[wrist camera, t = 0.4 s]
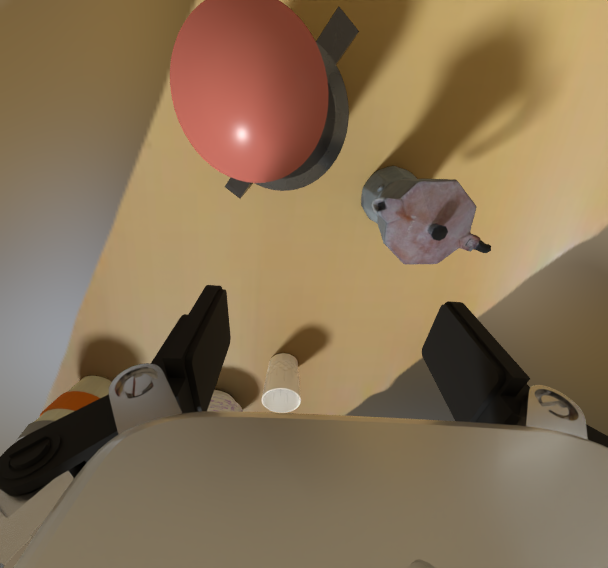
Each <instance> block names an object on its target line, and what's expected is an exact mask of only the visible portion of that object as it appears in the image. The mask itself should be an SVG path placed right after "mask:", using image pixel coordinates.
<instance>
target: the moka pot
mask: <svg viewBox="0 0 608 568" xmlns="http://www.w3.org/2000/svg"><path fill="white" fill-rule="evenodd" d="M361 205H362V207H363V209H364V211H365V213H366V214H367V216H368V217H369V219H371V220H372V221H374V222H376V223H378V226H379V229H380V232H381V236H382V239H383V243H384V244H385V245H386V246H387V247H388V248H389V249H390V250H391V251H392V252H393V253H394V254H395V255H396V256H397V257H398V258H399V260H400V261H401V262H402V263H403V264H437V263H439V262H440V261H442V260H443V259H444V258H446V257H447V256H449V255H450V254H451V253H452V252H454V251H455V250H457V249H458V248H461V249H464V250H467V251H472V250H473V249H475V250H478V251H480V252H483V253H488V252H489V251H491V246H490V245H489V244H485V243H484V242H482V241H481V240H480V238H479V237H478V236H476V235H473V234H471V233H470V230H471V225H472V222H473V218H474V215H475V211H476V205H475V204H474V202H473V201H472V200H471V198H470V197H469V196H468V195H467V193H466V192H465V191H464V189H463V188H462V186H461V185H460V184H459V182H458V181H457V180H448V179H417V178H416V177H415V176H414V175H413V174H412V173H411V172H409V171H407V170H405V169H402V168H399V167H396V166H391V167H386V168H383V169H380V170H378V171H376V172H375V173H374V174H373V175H372V176H371V177H370V178H369V179H368V181H367V182H366V184H365V185H364V187H363V190H362V199H361Z"/></svg>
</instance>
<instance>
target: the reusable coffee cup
mask: <svg viewBox="0 0 608 568" xmlns="http://www.w3.org/2000/svg"><path fill="white" fill-rule="evenodd" d="M111 383H112V382H111V381H110V380H108V379H106V378H103V377H99V376H86V377H84V378H82V379H81V380H80V381H79V382H78V383H77V384H76V385H74V386H73V387H72V388H71V389H70V390H69V391H68V392H66V393H63V394H62V395H61V396H59V397H58V398H57V399H56V400H55V401H54V402H53V403H52V404H50V405H49V406H48V407H47V408H46V409H45V410H44V411H43V412H42V413H41V414H40V417H39V418H38V419H37V420H36V421H35V422H33V423H31V424H29V425H28V426H27V427H26V429H25V430H24V431H23V432H22V434H21V435H20V436H19V438H18V439H17V440H16V442H17V441H18V440H20V439H21V438H23V437H25V436H26V435H28V434H30V433H32V432H34V431H36V430H38V429H40V428H42V427H44V426H46V425H48V424H50V423H52V422H54V421H56V420H58V419H60V418H62V417H64V416H66V415H68V414H70V413H72V412H74V411H76V410H78V409H80V408H82V407H84V406H86V405H88V404H90V403H92V402H94V401H96V400H98V399H100V398H102V397H104V396H106V395H108V394H109V387H110V385H111ZM16 442H15V443H16Z"/></svg>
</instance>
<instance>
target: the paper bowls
mask: <svg viewBox="0 0 608 568" xmlns="http://www.w3.org/2000/svg"><path fill="white" fill-rule="evenodd" d="M207 411H237V412H243V411H242V408H241V406H240V405H239V404H238V403H237V402H236V401H235V400H234V399H233V398H232V397H231V396H230V395H229V394H227V393H225V392H223V391H218V390H214V392H213V395H212V398H211V401H210V404H209V407H208V410H207Z"/></svg>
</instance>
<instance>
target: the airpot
mask: <svg viewBox="0 0 608 568" xmlns="http://www.w3.org/2000/svg"><path fill="white" fill-rule="evenodd" d="M358 32H359V31H358V30H357V28H356V27H355V26H354V25H353V23H352V22H351V21H350V20H349V18H348V17H347V16H346V15H345V13H344V12H343V11H342V10H341V8H340V7H338V8H337V10H336V11H335V13H334V14H333V16H332V18H331V19H330V21H329V22H328V24H327V25H326V27H325V28H324V30H323V32H322V33H321V35H320V36H319V38H318V39H317V41H315V42H316V44H317V46H318V48H319V51H320V53H321V56H322V59H323V62H324V66H325V70H326V75H327V81H328V111H327V118H326V122H325V126H324V129H323V132H322V135H321V137H320V140H319V142H318V144H317V146H316V148H315V149H314V151H313V152H312V154H311V155H310V156H309V158H308V159H307V160H306V161H305V162H304V163H303V164H302V165H301V166H300V167H299V168H298V169H297V170H295V171H294V172H292V173H291V174H289V175H287V176H285V177H283V178H281V179H278V180H275V181H271V182H265V183H255V184H257V185H259V186H262V187H264V188H268V189H272V190H280V191H284V190H294V189H298V188H302V187H304V186H307V185H309V184H311V183H313V182H314V181H316V180H317V179H319V178H320V177H321V176H322V175H323V174H325V172H326V171H327V170H328V169H329V168H330V167H331V166H332V164H333V163H334V161H335V160H336V158H337V156H338V155H339V153H340V151H341V148H342V146H343V143H344V140H345V137H346V133H347V127H348V116H349V110H348V99H347V93H346V88H345V85H344V82H343V79H342V76H341V74H340V72H339V69H338V68H337V66H336V64H337V63H338V61H339V60H340V59H341V57H342V56H343V54H344V53H345V51H346V50H347V48H348V47H349V46H350V44H351V43H352V41H353V40H354V38H355V37H356V35H357V33H358ZM252 184H253V183H251V182H244V181H240V180H237V179H234V178H230V179H229V181H228V183H227V184H226V186H225V187H226V188H227V189H228V190H229V191H231V192H232V193H233V194H235V195H236V196H237V197H239V198H241V197H242V196H243V195H244V194H245V193H246V191H247V190H248V189H249V188H250V187H251V186H252Z"/></svg>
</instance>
